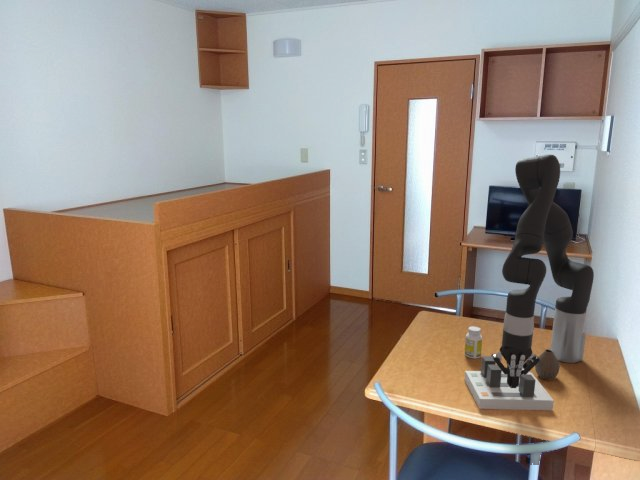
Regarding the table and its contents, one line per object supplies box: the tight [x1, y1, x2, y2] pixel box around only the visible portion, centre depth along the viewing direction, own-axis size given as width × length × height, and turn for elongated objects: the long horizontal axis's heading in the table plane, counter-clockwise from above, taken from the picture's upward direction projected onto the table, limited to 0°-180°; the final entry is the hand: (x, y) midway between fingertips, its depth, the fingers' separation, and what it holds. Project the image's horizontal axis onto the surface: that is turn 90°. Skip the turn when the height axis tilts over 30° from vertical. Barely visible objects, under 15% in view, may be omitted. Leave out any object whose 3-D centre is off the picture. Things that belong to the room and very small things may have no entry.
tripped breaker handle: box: [519, 374, 536, 397], centre depth 135 cm, size 3×3×5 cm
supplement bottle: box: [464, 325, 483, 359], centre depth 166 cm, size 5×5×10 cm
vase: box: [534, 348, 560, 381], centre depth 151 cm, size 7×7×9 cm
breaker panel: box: [464, 355, 555, 411], centre depth 141 cm, size 20×16×8 cm
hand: (512, 386), depth 136 cm, fingers closed
